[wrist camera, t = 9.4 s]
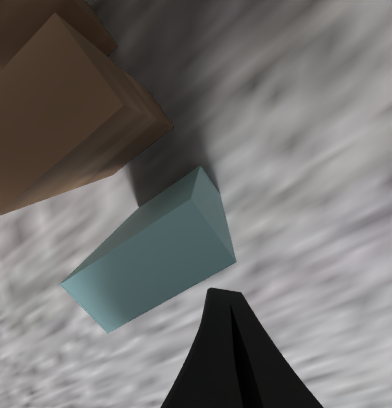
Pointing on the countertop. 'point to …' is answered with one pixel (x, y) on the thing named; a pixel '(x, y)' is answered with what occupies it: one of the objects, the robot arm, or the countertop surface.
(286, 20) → the countertop surface
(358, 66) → the countertop surface
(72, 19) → the domino
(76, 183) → the domino
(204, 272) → the loose domino
